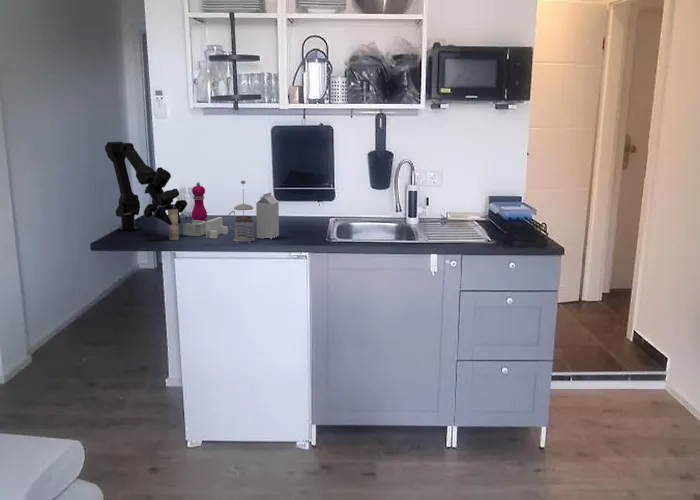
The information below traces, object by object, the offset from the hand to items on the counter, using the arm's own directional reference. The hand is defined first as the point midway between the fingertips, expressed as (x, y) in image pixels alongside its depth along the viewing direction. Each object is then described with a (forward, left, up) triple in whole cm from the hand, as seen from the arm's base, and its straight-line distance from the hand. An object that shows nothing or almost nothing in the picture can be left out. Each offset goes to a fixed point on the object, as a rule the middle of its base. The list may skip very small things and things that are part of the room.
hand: (175, 223), depth 264 cm
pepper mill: (-30, +19, -7) cm, 36 cm away
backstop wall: (-1, +18, -7) cm, 19 cm away
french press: (+13, +24, -7) cm, 28 cm away
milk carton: (+12, +36, -7) cm, 39 cm away
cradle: (-8, +11, -7) cm, 15 cm away
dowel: (-1, -1, -7) cm, 7 cm away
